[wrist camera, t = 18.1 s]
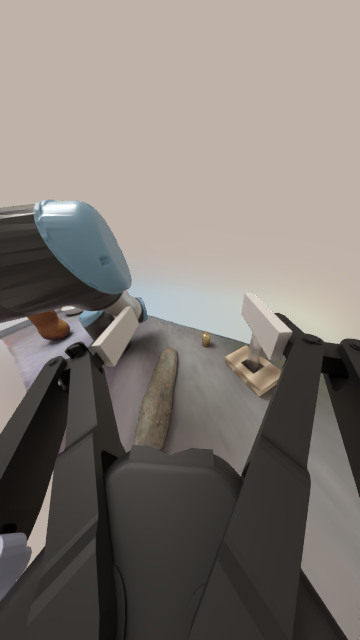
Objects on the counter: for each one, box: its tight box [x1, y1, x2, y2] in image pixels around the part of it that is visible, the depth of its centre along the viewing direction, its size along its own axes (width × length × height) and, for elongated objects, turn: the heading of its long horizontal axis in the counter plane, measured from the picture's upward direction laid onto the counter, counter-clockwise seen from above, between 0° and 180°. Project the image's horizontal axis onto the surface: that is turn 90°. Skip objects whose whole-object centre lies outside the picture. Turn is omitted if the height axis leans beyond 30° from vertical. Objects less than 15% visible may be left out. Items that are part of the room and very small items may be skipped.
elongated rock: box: [134, 347, 177, 450], centre depth 43 cm, size 35×5×10 cm
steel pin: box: [246, 332, 263, 374], centre depth 38 cm, size 4×4×20 cm
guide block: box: [225, 346, 281, 397], centre depth 43 cm, size 14×10×4 cm
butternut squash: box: [27, 310, 70, 340], centre depth 76 cm, size 14×13×25 cm
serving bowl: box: [61, 306, 84, 314], centre depth 115 cm, size 21×21×7 cm
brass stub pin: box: [202, 332, 210, 347], centre depth 56 cm, size 4×4×6 cm
